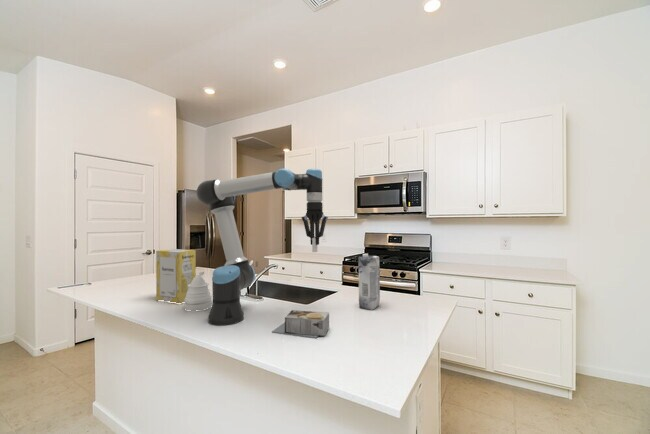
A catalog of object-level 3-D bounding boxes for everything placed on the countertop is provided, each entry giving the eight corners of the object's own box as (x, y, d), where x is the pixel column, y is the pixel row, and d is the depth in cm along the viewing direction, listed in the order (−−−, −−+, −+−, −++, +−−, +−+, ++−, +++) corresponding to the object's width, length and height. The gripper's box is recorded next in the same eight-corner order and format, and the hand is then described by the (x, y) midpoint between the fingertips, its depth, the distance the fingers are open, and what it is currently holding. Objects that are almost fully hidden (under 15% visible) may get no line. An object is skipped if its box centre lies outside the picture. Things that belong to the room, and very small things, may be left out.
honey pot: (202, 302, 161) (202, 269, 162) (216, 306, 154) (216, 271, 154) (179, 308, 151) (179, 273, 151) (193, 313, 143) (193, 275, 144)
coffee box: (329, 327, 121) (292, 325, 125) (329, 312, 121) (292, 309, 125) (324, 336, 112) (284, 333, 116) (324, 319, 112) (284, 316, 116)
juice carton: (381, 305, 153) (381, 253, 153) (373, 311, 144) (372, 255, 144) (365, 303, 158) (365, 252, 158) (356, 308, 149) (356, 254, 149)
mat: (271, 332, 118) (271, 331, 118) (287, 321, 131) (287, 320, 131) (316, 338, 111) (316, 337, 111) (328, 325, 124) (328, 325, 124)
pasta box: (156, 301, 165) (156, 250, 165) (172, 296, 175) (172, 249, 175) (179, 304, 158) (179, 252, 158) (195, 299, 168) (195, 250, 168)
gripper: (298, 202, 140) (299, 252, 139) (324, 201, 135) (325, 253, 135) (305, 202, 147) (305, 250, 146) (330, 202, 142) (330, 251, 142)
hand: (314, 251), depth 141 cm, fingers closed
